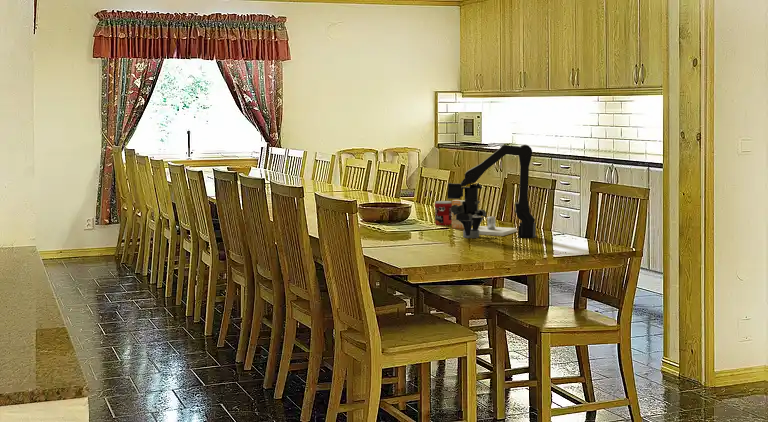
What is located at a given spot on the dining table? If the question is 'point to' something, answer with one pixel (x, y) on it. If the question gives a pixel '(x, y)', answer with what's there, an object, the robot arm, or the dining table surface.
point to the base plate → (496, 231)
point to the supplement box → (455, 223)
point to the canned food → (443, 213)
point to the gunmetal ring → (471, 234)
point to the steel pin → (491, 223)
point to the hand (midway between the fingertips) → (471, 234)
